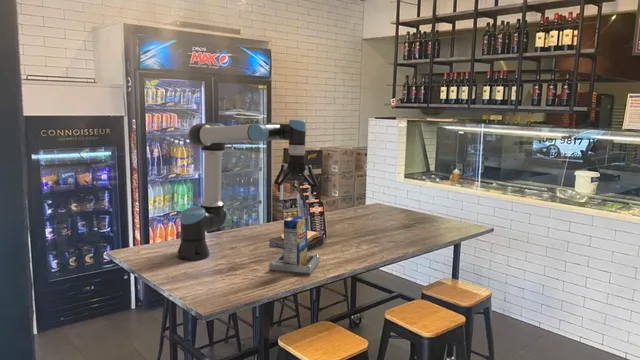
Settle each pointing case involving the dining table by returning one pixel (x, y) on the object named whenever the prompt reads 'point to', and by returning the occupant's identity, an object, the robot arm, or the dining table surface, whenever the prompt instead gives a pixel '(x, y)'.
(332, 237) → the dining table surface
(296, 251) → the beverage box
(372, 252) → the dining table surface
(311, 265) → the socket
